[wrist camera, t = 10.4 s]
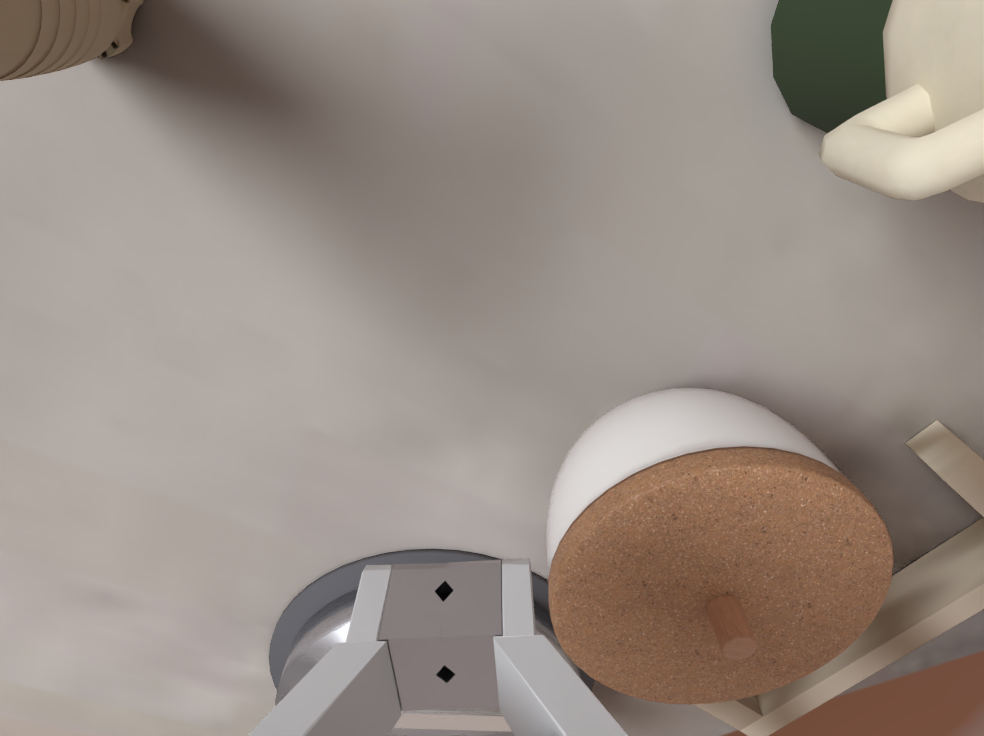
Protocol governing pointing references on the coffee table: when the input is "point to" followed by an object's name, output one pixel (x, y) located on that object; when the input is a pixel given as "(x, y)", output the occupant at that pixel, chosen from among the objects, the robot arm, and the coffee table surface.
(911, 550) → the coffee table surface
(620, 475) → the lidded jar
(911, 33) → the character mug
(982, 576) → the cream u-shaped bracket
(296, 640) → the turntable
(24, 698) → the coffee table surface
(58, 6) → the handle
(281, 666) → the base
